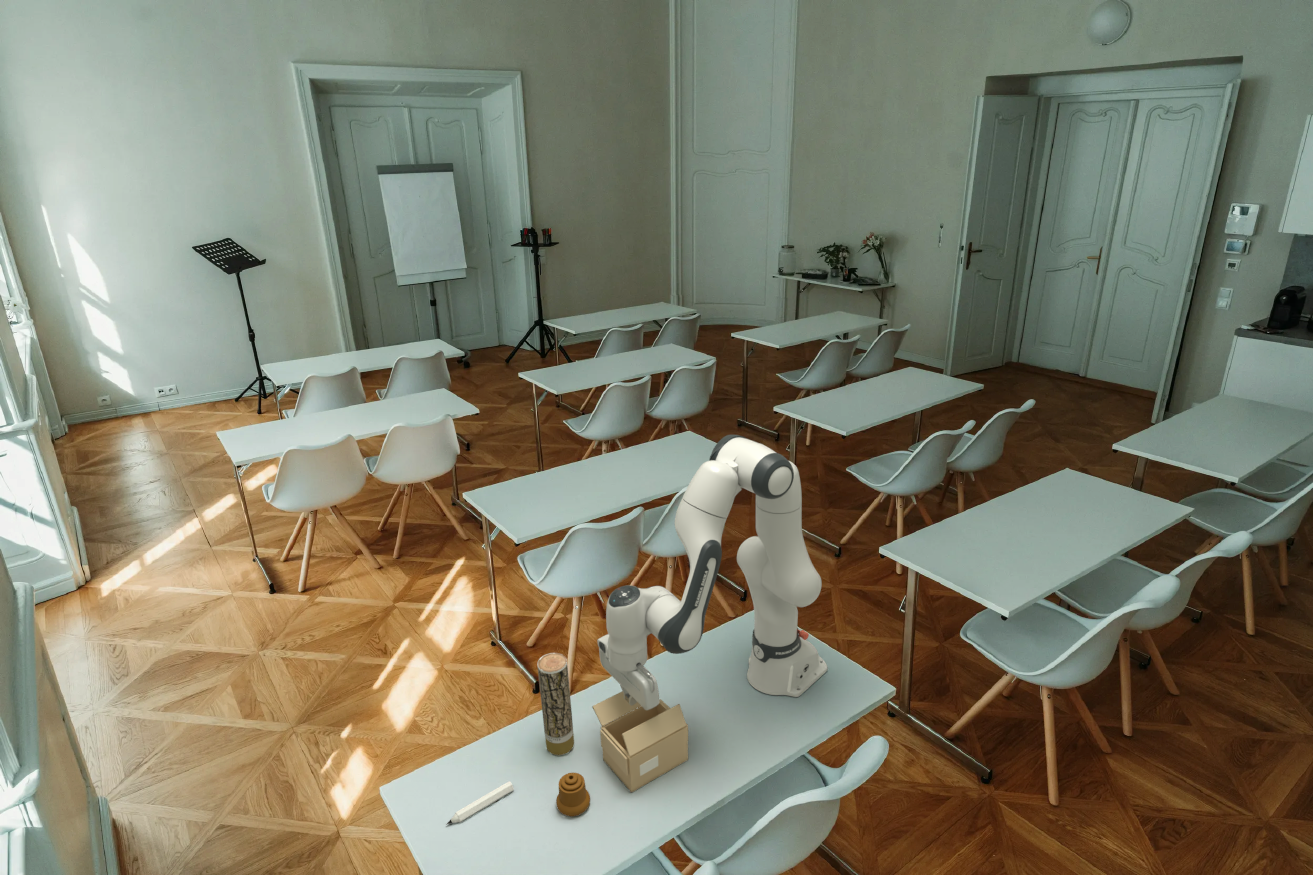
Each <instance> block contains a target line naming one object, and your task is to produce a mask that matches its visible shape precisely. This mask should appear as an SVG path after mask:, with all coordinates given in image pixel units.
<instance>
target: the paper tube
mask: <svg viewBox="0 0 1313 875" xmlns="http://www.w3.org/2000/svg"><path fill="white" fill-rule="evenodd" d="M536 664H537V674H538V682H539V683H538V684H539V692H540V701H541V702H540V703H541V704H540V705H541V712H542V721H543V729H544V739H545V747H546V750H547V751H548V752H549V753H550V754H552V755H553V756H554V755H555V756H563V755H566V754H568V753H570V752H571V751H572V750H573V748H574V746H575V734H574V725H573V711H572V703H571V702H572V701H571V689H570V688H571V687H570V678H569V668H568V667H569V666H568V660H567V657H566V656H565V655H564V654H562V653H558V652H550V653H546V654H544V655H542V656H541V657H539V658H538V661H537V663H536Z"/></svg>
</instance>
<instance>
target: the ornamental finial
mask: <svg viewBox="0 0 1313 875" xmlns="http://www.w3.org/2000/svg"><path fill="white" fill-rule="evenodd" d="M590 803H591V795H590V793H589V791H588V790H587V788H586V782H585V778H584V776H583V775H582V774H580V773H579V772H568V773H565V774H564V775H562V776H561V777H560V779H559V780H558V794H557V795H556V800H555V804H556V808H557V810H558V812H560V813H561V814H562V815H564V816H566V817H577V816H581V815H582V814H584V813H585V812H586V811H587V810H588V809H589V807H590Z"/></svg>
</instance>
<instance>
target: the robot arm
mask: <svg viewBox="0 0 1313 875" xmlns="http://www.w3.org/2000/svg"><path fill="white" fill-rule="evenodd" d="M801 484H802V483H801V478H800V472H799V469H798V467H797V465H795V464H794V463H793V462H792V461H790V460H788V459H787V458H786V457H785V456H784V455H783V454H781V453H778V452H776V451H775V450H773V449H772V448H770V447H768V446H766V445H764V444H763V443H761V442H760V443H759V442H757V441H755V440H751V439H749V438H746V436H744V435H743V436H742V435H739V434H727V435H725V436H723V437H722V438H721V439H720V440H719V441H718V442H717V443H716V444H715V446H714V447H713V450H712V451H711V454H710V456H709V460H707V461H705V462H703V463H702V464H701V465H700V466H699V468H698V469H697V470H696V472H695V473H694V475H693V477H692V478H691V480H690V481H689V484H688V486H687V487H686V489H685V491H684V493H683V495H682V498H681V500H680V502H679V504H678V507H677V510H676V511H675V517H674V528H675V533H676V534H677V536H678V538H679V540H680V542H681V544H682V545H683V547H684V549H685V551H686V554H687V557H688V562H689V574H688V577H687V581H686V585H685V587H684V591H683V595H682V598H681V600H680V599H679V598H678V597H677V596H675V595H674V594H673V593H672V592H670V590H669V589H667V588H666V587H664V586H662V585H653V586H649V587H647V588H640V587H637V586H635V585H632V584H631V585H630V584H629V585H622V586H619V587H617V588H615V589H614V590H613V591H612V592H611V593H610V595H609V596H608V599H607V602H606V610H605V611H606V612H605V614H606V615H605V618H606V619H605V620H606V623H605V625H606V630H607V634H605V635H603V636H601V637H599V638H598V639H597V640H596V641H597V646H598V651H599V652H598V653H599V661H600V664H601V667H602V668H603V669H604V670H605V671H606V672H607V673H608V674H609V675H610V676H611V677H612V678H613V679H615V681H616V682H617V683H618V684H619V685H620V688H621V692H622V691H623V693H624V699H625V700H626V701H627V702H628V703H629V704H630V705H631V706H632V705H634V704H636V703H637V702H638V703H639V704H640V705H641V706H642V707H643V708H644V709H645V710H650V709H652V708H654V707H656V706H657V705H658V704H659V702H660V699H661V698H660V693H659V692H660V691H659V685H658V682H657V679H656V677H655V675H654V674H653V673H651V671H650V670H649V669H648V668H646V667H645V664H646V663H647V661H648V644H647V642H648V641H647V638H648V636H649V635H650V634H652V635H653V636H654V637H655V638H656V639H657V640H658V641H659V643H660V644H661V645H662V646H663V648H664V649H665V650H666V651H667V652H668V653H670V654H675V655H677V654H685V653H688V652H690V651H693V649H695V648H696V647H697V645H698V644H700V641H701V639H702V637H703V633H704V630H705V629H704V628H705V620H706V614H707V610H708V608H709V603H710V601H711V598H712V593H713V591H714V586H715V584H716V580H717V577H718V573H719V569H720V566H721V562H722V556H723V550H722V536H723V532H724V527H725V523H726V521H727V518H728V517H729V515H730V511H731V509H732V506H733V503H734V500H735V498H736V496H737V495H738V494H739V493H740V492H741V491H742V490H743V489H744V490H747V491H749V492H751V493H753V494H755V531H756V534H757V535H754V536H750V537H748V538H747V539H745V540H744V541H743V542H742V543H741V544H740V546H739V548H738V549H737V554H736V562H737V565H738V566H739V568H740V570H741V571H742V573H743V574H744V577H745V581H746V583H747V586H748V588H749V592H750V596H751V599H752V605H753V614H754V615H753V616H754V617H753V618H754V620H753V622H754V628H753V630H752V636H751V639H752V640H751V644H752V647H751V651H750V656H749V657H748V669H747V673H746V678H747V681H748V683H749V684H750V685H751V686H752V687H753V688H754V689H756V691H758V692H760V693H763V694H766V695H772V696H789V697H791V698H792V697H794V698H799V697H801V695H803V694H804V692H806V691H807V690H808V689H809V688H811V687H812V685H814V683H815V682H817V681H818V680H819V679H820V678H821V677H822V676H823V675H824V674H826V673H827V671H828V665H827V663H826V661H825V660H824V659H823V658H822V657H821V656H820V655H819V652H818V649H817V648H816V647H815V645H813V643H811V642H810V641H809V640H808V638H809V637H810V636H809V635H810V634H809V633H808V632H807V631H805V630H804V629H802V630H800V629H799V628H798V617H799V611H798V608H804V607H805V608H806V607H807V606H810V605H811V604H813V603H814V602H815V601H816V600H817V598H819V595H820V593H821V591H822V590H821V589H822V578H821V576H820V574H819V573H818V571H817V570H816V568H815V566H814V564H813V563H812V560H811V558H810V555H809V553H808V550H807V546H806V543H805V540H804V535H803V528H802V526H803V525H802V524H803V523H802V522H803V521H802V520H803V519H802V518H803V517H802V515H803V514H802V513H803V512H802V508H803V507H802V505H803V504H802V500H803V499H802V498H803V497H802V496H803V495H802V485H801Z"/></svg>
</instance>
